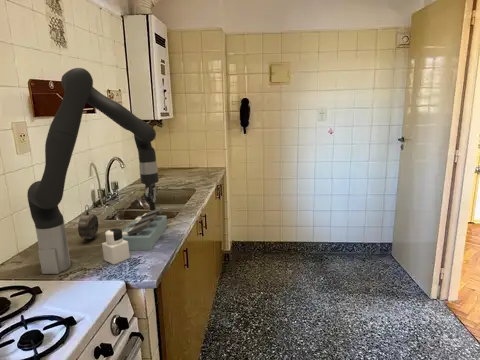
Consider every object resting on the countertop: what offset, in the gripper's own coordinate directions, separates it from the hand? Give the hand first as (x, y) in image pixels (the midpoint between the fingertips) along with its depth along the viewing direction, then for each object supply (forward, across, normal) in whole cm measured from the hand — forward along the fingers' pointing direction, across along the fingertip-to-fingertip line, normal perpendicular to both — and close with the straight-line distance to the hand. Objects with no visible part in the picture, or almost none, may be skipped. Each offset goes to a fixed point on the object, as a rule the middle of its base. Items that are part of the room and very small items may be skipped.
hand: (153, 209), depth 152 cm
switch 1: (+5, +9, +4) cm, 11 cm away
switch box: (+13, 0, +5) cm, 14 cm away
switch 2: (+5, 0, +4) cm, 6 cm away
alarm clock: (+13, -2, +29) cm, 32 cm away
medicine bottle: (+13, -22, +9) cm, 27 cm away
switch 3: (+5, -9, +4) cm, 11 cm away
